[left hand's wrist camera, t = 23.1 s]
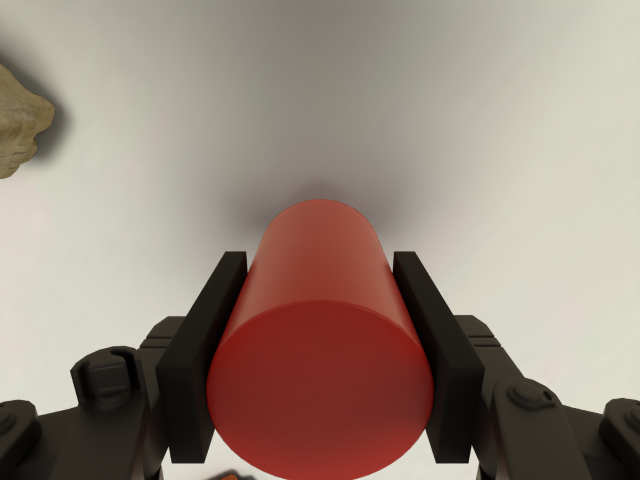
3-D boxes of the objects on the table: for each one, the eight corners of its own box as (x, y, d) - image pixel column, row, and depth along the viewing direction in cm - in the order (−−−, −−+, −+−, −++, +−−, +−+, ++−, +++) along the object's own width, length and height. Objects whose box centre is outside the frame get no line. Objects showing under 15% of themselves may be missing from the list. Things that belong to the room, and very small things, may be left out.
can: (268, 188, 16) (215, 281, 8) (393, 210, 17) (465, 322, 8) (252, 300, 18) (196, 469, 10) (366, 318, 18) (402, 497, 10)
